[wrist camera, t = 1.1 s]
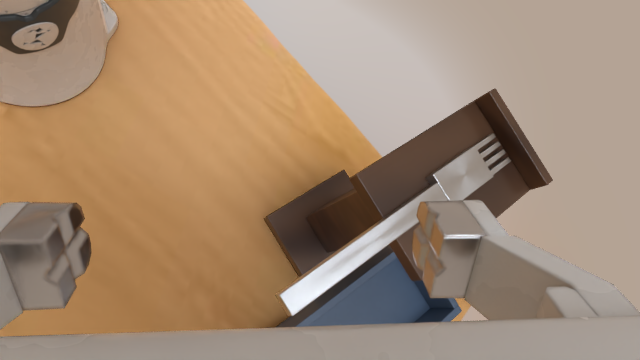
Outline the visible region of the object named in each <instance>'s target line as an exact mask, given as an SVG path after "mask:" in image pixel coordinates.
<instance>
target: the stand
mask: <svg viewBox="0 0 640 360" xmlns="http://www.w3.org/2000/svg"><path fill="white" fill-rule="evenodd" d="M492 133H494V135H495V136H496V138H494V139H493V140H491V141H490V142H488V143H487V144H486V145H484V146H483V147H481V148H480V149H479V150H478V152H479V153H480V152H481V151H482V150H484V149H485V148H487V147H488V146H490V145H491V144H492V143H494V142H497V141H499V143H500V144H501V146H499V147H498V148H496V149H495V150H494V151H492V152H491V153H490V154H488V155H487V156H485V157H484V158H483V160H484V161H485V160H486V159H488V158H489V157H490V156H492V155H493V154H494V153H496V152H497V151H499V150H502V149H504V151H505V152H506V154H504V155H503V156H502V157H500V158H499V159H498V160H496V161H495V162H494V163H492V164H491V165H490V166H488V168H489V169H490V168H491V167H493V166H494V165H495V164H497V163H498V162H499V161H501V160H502V159H504V158H507V157H509V159H510V160H511V162H509V163H508V164H507V165H506V166H504V167H503V168H502V169H500V170H499V171H498V172H496V173H495V174H494V175H493V177H492V178H491V179H490V180H489V181H487V182H486V183H485V184H483V185H482V186H481V187H479V188H478V189H477V190H475V191H474V192H473V193H472V194H470V195H469V196H468V197H466V198H465V199H464V200H480V201H482V202H483V203H484V204H485V205H486V207H487V208H488V209H489V210H490V212H491V213H492V214H493V215H494V217H495V218H497V217H498V216H499V215H501V214H502V213H503V212H504V211H505V210H506V209H508V208H509V207H510V206H511V205H512V204H514V203H515V202H516V201H517V200H518V199H520V198H521V197H522V196H523V195H524V194H526V193H527V192H528V191H529V190H530V189H535V188H538V187H542V186H545V185H548V184H549V183H550V182H551V181H553V179H552V178H551V176H550V175H549V173H548V171H547V170H546V168H545V167H544V165H543V163H542V162H541V160H540V159H539V157H538V155H537V154H536V152H535V151H534V149H533V147H532V146H531V144H530V143H529V141H528V140H527V138H526V136H525V135H524V133H523V132H522V130H521V128H520V127H519V125H518V124H517V122H516V120H515V119H514V117H513V116H512V114H511V112H510V111H509V109H508V108H507V106H506V105H505V103H504V101H503V100H502V98H501V96H500V95H499V93H498V92H497V90H496V89H493V90H491V91H489V92H488V93H486V94H484V95H483V96H481V97H479V98H478V99H476V100H474V101H473V102H471V103H469V104H468V105H466V106H465V107H463V108H461V109H460V110H458V111H456V112H455V113H453V114H452V115H450V116H448V117H447V118H445V119H444V120H442V121H440V122H439V123H437V124H436V125H434V126H432V127H431V128H429V129H428V130H426V131H424V132H423V133H421V134H419V135H418V136H417V137H415V138H413V139H411V140H410V141H409V142H407V143H405V144H403V145H402V146H400V147H399V148H397V149H395V150H394V151H392V152H391V153H389V154H387V155H386V156H384V157H383V158H381V159H379V160H378V161H376V162H374V163H373V164H371V165H370V166H368V167H366V168H365V169H363V170H362V171H360V172H358V173H357V174H355V175H354V176H352V177H350V178H349V176H348V175H347V173H346V172H345V170H342V171H341V172H339V173H337V174H336V175H334V176H332V177H331V178H329V179H327V180H326V181H324V182H323V183H321V184H319V185H318V186H316V187H314V188H313V189H311V190H309V191H308V192H306V193H304V194H303V195H301V196H299V197H298V198H296V199H294V200H293V201H291V202H290V203H288V204H286V205H285V206H283V207H281V208H280V209H278V210H276V211H275V212H273V213H271V214H270V215H268V216H266V217H265V218H264V220H265V221H266V223H267V225H268V226H269V228H270V230H271V231H272V233H273V235H274V236H275V238H276V239H277V241H278V243H279V244H280V246H281V248H282V249H283V251H284V253H285V254H286V256H287V258H288V259H289V261H290V262H291V264H292V266H293V267H294V269H295V271H296V272H297V274H298V276H299V277H301V276H302V275H303V274H305V273H306V272H308V271H309V270H311V269H312V268H313V267H315V266H316V265H318V264H319V263H320V262H322V261H323V260H325V259H326V258H328V257H329V256H330V255H332V254H333V253H335V252H336V251H337V250H339V249H340V248H342V247H343V246H345V245H346V244H347V243H349V242H350V241H352V240H353V239H354V238H356V237H357V236H359V235H360V234H362V233H363V232H364V231H366V230H367V229H369V228H370V227H371V226H373V225H374V224H376V223H377V222H378V221H380V220H381V219H383V218H384V217H386V216H387V215H388V214H390V213H391V212H393V211H394V210H395V209H397V208H398V207H400V206H401V205H403V204H404V203H405V202H407V201H408V200H410V199H411V198H412V197H414V196H415V195H417V194H418V193H420V192H421V191H422V190H424V189H425V188H427V187H428V186H429V185H430V184H429V182H428V181H427V179H426V177H427V176H428V175H430V174H431V173H433V172H434V171H436V170H437V169H439V168H440V167H442V166H443V165H444V164H446V163H447V162H449V161H450V160H452V159H453V158H455V157H456V156H457V155H459V154H460V153H462V152H463V151H465V150H466V149H468V148H470V147H472V146H473V145H475V144H476V143H477V142H479V141H480V140H482V139H483V138H485V137H486V136H488V135H489V134H492ZM419 225H420V222H418V223H417V224H416V225H414V226H413V227H412V228H410V229H409V230H408V231H406V232H405V233H404V234H402V235H401V236H400V237H398V238H397V239H395V240H394V241H393V242H391V243H390V244H389V245H390V246H391V248H392V250H393V251H394V253H395V255H396V256H397V258H398V259H399V261H400V263H401V264H402V266H403V268H404V269H405V271H406V272H407V274H408V276H409V277H410V279H411V280H412V281H420V280H422V276H423V271H422V270H421V269H419V268H418V267H417V266H416V264H415V261H414V258H413V253H412V238H413V231H414V230H415V229H416V228H417V227H418V226H419Z"/></svg>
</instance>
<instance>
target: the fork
mask: <svg viewBox="0 0 640 360" xmlns="http://www.w3.org/2000/svg"><path fill="white" fill-rule="evenodd" d="M494 138H496V136H495V135H494V133H492V134H489V135H488V136H486V137H485V138H483V139H482V140H480V141H479V142H477V143H476V144H475V145H473V146H472V147H470V148H468V149H466V150H465V151H463V152H462V153H460V154H459V155H457V156H456V157H455V158H453V159H452V160H450V161H449V162H447V163H446V164H444V165H443V166H442V167H440V168H439V169H437V170H436V171H434V172H433V173H431V174H430V175H428V176H427V177H426V179H427V181H428V182H429V184H430V185H429V186H428V187H427V188H425V189H424V190H422V191H421V192H420V193H418V194H417V195H415V196H414V197H412V198H411V199H410V200H408V201H407V202H405V203H404V204H403V205H401V206H400V207H398V208H397V209H395V210H394V211H393V212H391V213H390V214H388V215H387V216H386V217H384V218H383V219H381V220H380V221H378V222H377V223H376V224H374V225H373V226H371V227H370V228H369V229H367V230H366V231H364V232H363V233H362V234H360V235H359V236H357V237H356V238H354V239H353V240H352V241H350V242H349V243H347V244H346V245H345V246H343V247H342V248H340V249H339V250H337V251H336V252H335V253H333V254H332V255H330V256H329V257H328V258H326V259H325V260H323V261H322V262H320V263H319V264H318V265H316V266H315V267H313V268H312V269H311V270H309V271H308V272H306V273H305V274H303V275H302V276H301V277H299V278H298V279H296V280H295V281H294V282H292V283H291V284H289V285H288V286H286V287H285V288H284V289H282V290H281V291H279V292H278V293H277V294H276V295H275V296H276V297H277V299H278V301H279V302H280V304H281V306H282V307H283V309H284V311H285V312H286V314H287V315H288V316H294V315H295V314H297V313H298V312H299V311H301V310H302V309H303V308H305V307H306V306H307V305H309V304H310V303H311V302H313V301H314V300H315V299H317V298H318V297H319V296H321V295H322V294H323V293H325V292H326V291H327V290H329V289H330V288H331V287H333V286H334V285H335V284H337V283H338V282H339V281H341V280H342V279H343V278H345V277H346V276H347V275H349V274H350V273H351V272H353V271H354V270H355V269H357V268H358V267H359V266H361V265H362V264H363V263H365V262H366V261H367V260H369V259H370V258H371V257H373V256H374V255H375V254H377V253H378V252H379V251H381V250H382V249H383V248H385V247H386V246H387V245H389V244H390V243H391V242H393V241H394V240H395V239H397V238H398V237H400V236H401V235H402V234H404V233H405V232H406V231H408V230H409V229H410V228H412V227H413V226H414V225H416V224H417V223H418V222H419V220H418V218H417V216H416V215H417V210H418V206H419V204H420V202H424V201H457V200H464V199H465V198H466V197H468V196H469V195H470V194H472V193H473V192H474V191H475V190H477V189H478V188H479V187H481V186H482V185H483V184H485V183H486V182H487V181H489V180H490V179H491V178H492V177H493V175H494V174H495V173H496V172H498V171H499V170H500V169H502V168H503V167H504V166H506V165H507V164H508V163H509V162H511V160H510V159H509V157H507V158H504V159H502V160H501V161H499V162H498V163H497V164H495V165H494V166H493V167H491V168H490V169H489V168H488V166H490V165H491V164H492V163H494V162H495V161H496V160H498V159H499V158H500V157H502V156H503V155H504V154H506V152H505V151H504V149H502V150H499V151H497V152H496V153H494V154H493V155H492V156H490V157H489V158H488V159H486V160H485V161H484V160H483V158H484V157H485V156H487V155H488V154H490V153H491V152H492V151H494V150H495V149H496V148H498V147H499V146H501V144H500V143H499V141H497V142H494V143H492V144H491V145H490V146H488V147H487V148H485V149H484V150H482V151H481V152H480V153H479V152H478V150H479V149H480V148H481V147H483V146H484V145H486V144H487V143H488V142H490V141H491V140H493V139H494Z"/></svg>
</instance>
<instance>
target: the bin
mask: <svg viewBox="0 0 640 360" xmlns="http://www.w3.org/2000/svg"><path fill="white" fill-rule="evenodd" d="M461 311H462V310H461V308H460V307H459V306H458V304H457V302H456V300H455V299H454V298H430V296H429V294H428V292H427V289H426V287H425V285H424V283H423V280H420V281H412V280H411V279H410V277H409V276H408V274H407V272H406V271H405V269H404V268H403V266H402V264H401V263H400V261H399V259H398V258H397V256H396V255H395V253H394V251H393V250H392V248H391V246H390V245H387V246H386V247H385V248H383V249H382V250H381V251H379V252H378V253H377V254H375V255H374V256H373V257H371V258H370V259H369V260H367V261H366V262H365V263H363V264H362V265H361V266H359V267H358V268H357V269H355V270H354V271H353V272H351V273H350V274H349V275H347V276H346V277H345V278H343V279H342V280H341V281H339V282H338V283H337V284H335V285H334V286H333V287H331V288H330V289H329V290H327V291H326V292H325V293H323V294H322V295H321V296H319V297H318V298H317V299H315V300H314V301H313V302H311V303H310V304H309V305H307V306H306V307H305V308H303V309H302V310H301V311H299V312H298V313H297V314H295V315H294V316H290V317H289V318H287V319H286V320H285V321H283V322H282V323H281V324H279V325H278V326H276V327H306V326H336V325H365V324H395V323H424V322H450V321H451V320H453V319H454V318H455V317H456V316H457V315H458V314H459V313H460V312H461ZM276 327H275V328H276Z"/></svg>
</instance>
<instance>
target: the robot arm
mask: <svg viewBox="0 0 640 360" xmlns="http://www.w3.org/2000/svg"><path fill="white" fill-rule="evenodd" d="M118 23H119V22H118V18H117V15H116V14H115V12H114V11H113V10H112V9H111V8H110V7H109V5H108V4H107V3H106V2H105V1H104V0H0V101H1V102H5V103H8V104H13V105H19V106H46V105H52V104H56V103H60V102H63V101H66V100H68V99H71V98H73V97H75V96H76V95H78V94H80V93H81V92H83V91H84V90H85V89H87V88H88V87H89V86H90V85H91V84H92V83H93V82H94V80H95V79H96V78H97V76H98V75H99V73H100V71H101V69H102V67H103V64H104V60H105V55H106V47H107V43H108V41H109V39H110V38H111V37H112V35H113V34H114V32H115V31H116V29H117V27H118ZM416 216H417V218H418V220H419V222H420V225H419V226H418V227H417V228H416V229H415V230H414V231H413V238H412V253H413V258H414V261H415V264H416V266H417V267H418V268H419V269H421V270H422V271H423V276H422V280H423V283H424V285H425V287H426V289H427V292H428V294H429V296H430V298H465V299H464V300H465V301H467V302H468V303H469V304H470V305H471V306H473V307H474V308H475V309H476V310H477V311H479V312H480V313H481V314H482V315H483V316H484V317H486V318H487V319H488V320H484V321H454V322H424V323H395V324H365V325H336V326H306V327H276V328H247V329H217V330H187V331H157V332H127V333H97V334H67V335H37V336H7V337H0V360H640V312H639V311H638V310H637V309H636V308H635V307H634V306H633V305H632V303H631V302H630V301H629V300H628V299H627V298H626V297H625V296H624V295H623V294H622V293H621V292H620V291H619V290H618V289H617V288H616V287H615V286H614V285H613V284H612V283H609V282H608V281H606V280H604V279H601V278H599V277H597V276H595V275H593V274H591V273H589V272H587V271H585V270H583V269H581V268H579V267H577V266H575V265H573V264H571V263H569V262H567V261H565V260H563V259H561V258H559V257H557V256H555V255H553V254H551V253H549V252H547V251H545V250H543V249H541V248H539V247H537V246H535V245H533V244H531V243H529V242H527V241H525V240H523V239H521V238H519V237H517V236H509V235H508V233H507V232H506V231H505V229H504V228H503V227H502V226H501V224H500V223H499V222H498V221H497V219H496V218H495V217H494V215H493V214H492V213H491V212H490V210H489V209H488V208H487V207H486V205H485V204H484V203H483V202H482V201H480V200H457V201H424V202H420V204H419V206H418V210H417V215H416ZM84 219H85V218H84V214H83V211H82V208H81V206H80V205H79V204H77V203H56V202H32V203H31V202H9V203H3V204H2V205H1V206H0V329H2V328H3V327H4V326H6V325H7V324H8V323H10V322H11V321H12V320H14V319H15V318H16V317H18V316H19V315H20V314H22V313H23V311H24V310H42V309H61V308H65V306H66V304H67V303H68V301H69V299H70V298H71V296H72V294H73V292H74V291H75V289H76V283H75V279H76V278H78V277H79V276H81V275H83V274H84V273H85V271H86V269H87V267H88V265H89V262H90V257H91V242H90V237H89V234H88V233H87V232H85V231H84V230H83V229H82V228H81V227H80V226H81V224H82V222H83V221H84Z"/></svg>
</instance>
